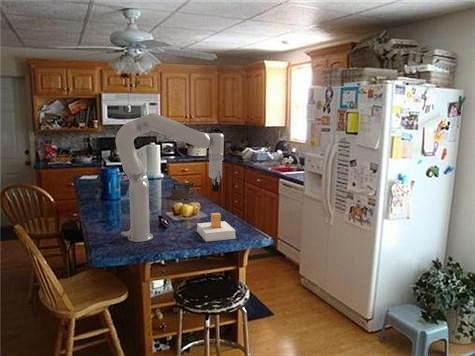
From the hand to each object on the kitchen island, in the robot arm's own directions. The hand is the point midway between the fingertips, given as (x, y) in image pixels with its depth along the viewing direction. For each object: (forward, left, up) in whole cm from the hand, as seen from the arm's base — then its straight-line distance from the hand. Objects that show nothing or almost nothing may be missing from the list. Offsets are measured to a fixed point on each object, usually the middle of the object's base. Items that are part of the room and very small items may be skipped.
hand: (215, 191), depth 211 cm
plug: (0, 0, -22) cm, 22 cm away
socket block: (0, 0, -24) cm, 24 cm away
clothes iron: (0, +89, -24) cm, 92 cm away
